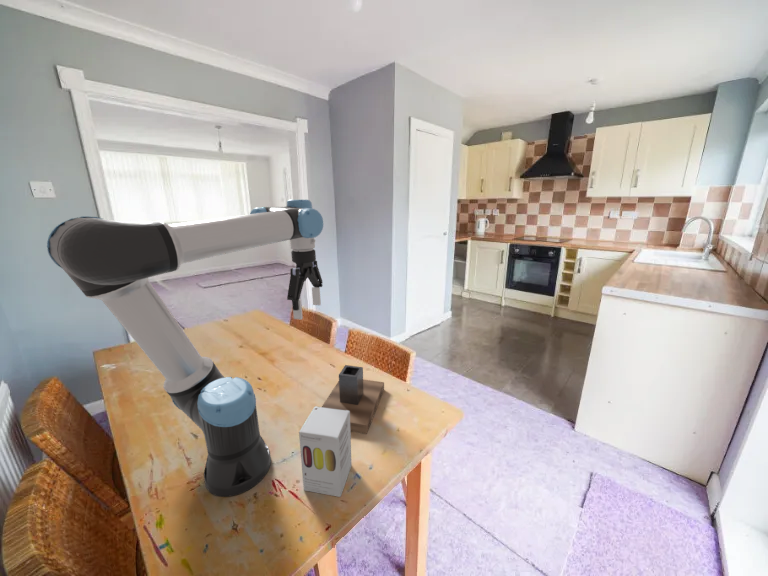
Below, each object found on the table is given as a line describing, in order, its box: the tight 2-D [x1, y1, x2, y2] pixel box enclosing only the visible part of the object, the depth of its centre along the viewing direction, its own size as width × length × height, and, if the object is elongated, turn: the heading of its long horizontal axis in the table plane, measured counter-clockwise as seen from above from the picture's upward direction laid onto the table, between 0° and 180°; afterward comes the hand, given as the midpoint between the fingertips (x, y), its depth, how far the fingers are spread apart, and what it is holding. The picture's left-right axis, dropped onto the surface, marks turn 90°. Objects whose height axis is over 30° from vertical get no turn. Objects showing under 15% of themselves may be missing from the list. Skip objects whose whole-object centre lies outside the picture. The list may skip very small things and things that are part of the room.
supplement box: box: [298, 405, 353, 498], centre depth 73 cm, size 10×9×17 cm
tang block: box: [321, 379, 385, 435], centre depth 100 cm, size 22×16×10 cm
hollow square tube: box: [338, 364, 364, 405], centre depth 99 cm, size 6×6×10 cm
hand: (308, 311), depth 105 cm, fingers open, 13 cm apart
